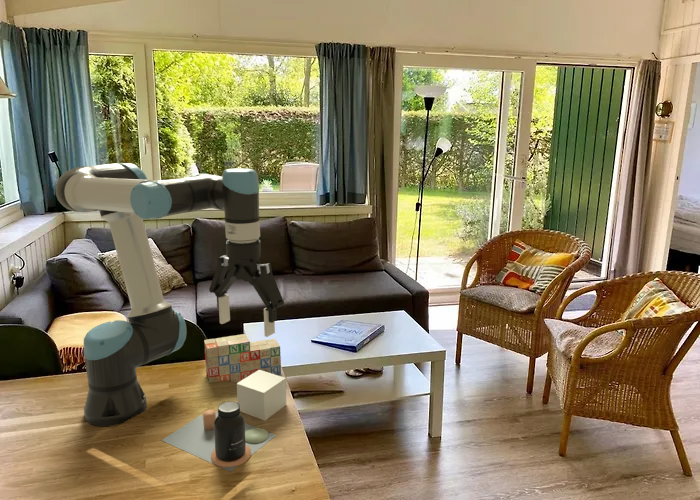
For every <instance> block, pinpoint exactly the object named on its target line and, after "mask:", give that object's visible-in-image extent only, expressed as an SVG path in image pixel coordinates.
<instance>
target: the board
mask: <svg viewBox="0 0 700 500" xmlns="http://www.w3.org/2000/svg"><path fill="white" fill-rule="evenodd" d="M217 416H218V411H215V410H214V409H207V410H205V411H204V412H203V413H202V414H201V415H199V416H197V417H196V418H194V419H192V420H191V421H189V422H188V423H186V424H184V425H183V426H182V427H180V428H178V429H177V430H175V431H173V432H172V433H171V434H169V435H167V436H166V437H164V438H163V439H161V440H160V441H162V442H164V443H167V444H168V445H170V446H173V447H176V448H177V449H179V450H182V451H184V452H186V453H187V454H188V453H189V454H190V455H193V456H195V457H198V458H199V459H201V460H204V461H206V462H208V463H210V464H213V465H214V466H217V467H219V468H222V469H224V470H225V471H229V472H230V473H231V472H233V471H234V470H235V469H236V468H237V467H239V466H240V465H243V464H244V463H246V462H247V461H248V460H249V459H250V458H251V456H252V455H254V454H255V453H256V452H257V451H259V450H260V449H261V448H263V446H265V445H266V444H267V443H269V442H270V441H271V440H273V439H274V438H275V437H276V436H277V434H276V433H275V434H274V433H272V432H269V431H267V429H264V428H261V427H257V426H254V425H251V424H249V423H246V422H245V443H246V451H245V454H244V455H243V457H241V458H240V459H238V460H236V461H232V462H225V461H221V460H219V459H218V458H217V457H216V454H215V435H214V421H215V419H216V417H217Z"/></svg>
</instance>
